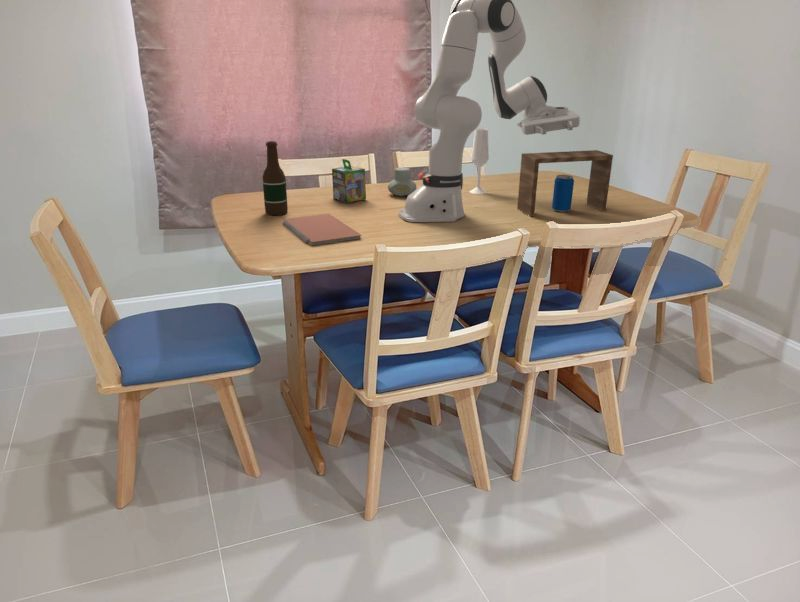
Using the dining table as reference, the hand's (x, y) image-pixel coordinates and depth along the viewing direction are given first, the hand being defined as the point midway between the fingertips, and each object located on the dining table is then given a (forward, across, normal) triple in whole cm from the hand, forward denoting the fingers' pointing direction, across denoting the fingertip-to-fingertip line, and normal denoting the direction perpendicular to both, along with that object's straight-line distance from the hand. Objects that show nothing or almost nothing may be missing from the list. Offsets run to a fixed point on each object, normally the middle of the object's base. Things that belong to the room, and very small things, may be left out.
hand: (557, 130), depth 215 cm
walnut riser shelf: (+9, -2, +26) cm, 27 cm away
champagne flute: (-21, -24, +27) cm, 42 cm away
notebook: (+22, -86, +13) cm, 89 cm away
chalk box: (-16, -74, +20) cm, 78 cm away
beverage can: (+9, -2, +26) cm, 28 cm away
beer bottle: (0, -100, +14) cm, 101 cm away
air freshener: (-20, -54, +23) cm, 62 cm away
